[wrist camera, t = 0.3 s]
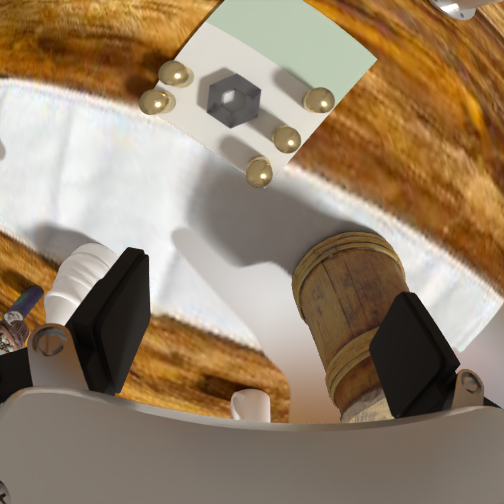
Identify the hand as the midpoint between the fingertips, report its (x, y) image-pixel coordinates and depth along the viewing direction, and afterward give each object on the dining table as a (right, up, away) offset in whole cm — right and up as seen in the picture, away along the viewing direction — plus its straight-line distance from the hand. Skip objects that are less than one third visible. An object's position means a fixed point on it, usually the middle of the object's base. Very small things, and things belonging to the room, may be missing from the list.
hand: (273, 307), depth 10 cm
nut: (-3, +20, +21) cm, 29 cm away
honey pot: (-28, -2, +35) cm, 45 cm away
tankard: (+16, -5, +35) cm, 39 cm away
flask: (-50, -7, +38) cm, 63 cm away
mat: (0, +24, +20) cm, 31 cm away
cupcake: (-64, -17, +44) cm, 80 cm away
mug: (-2, -31, +50) cm, 58 cm away
